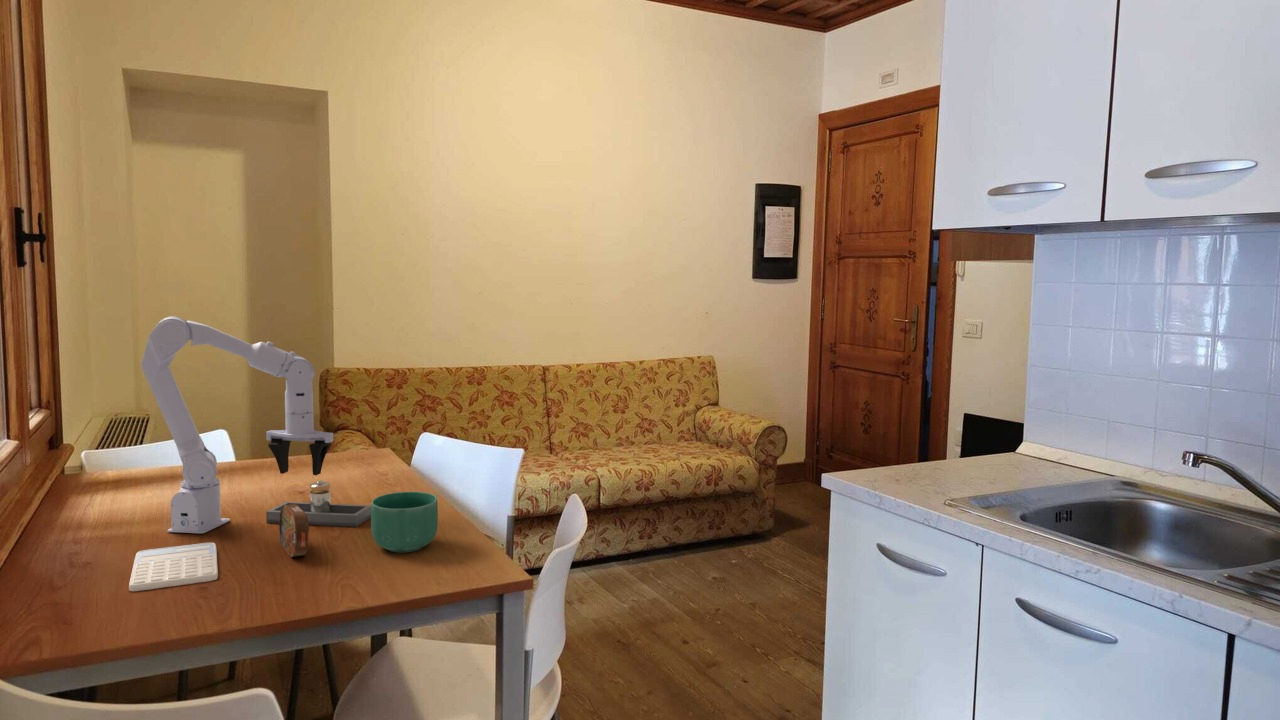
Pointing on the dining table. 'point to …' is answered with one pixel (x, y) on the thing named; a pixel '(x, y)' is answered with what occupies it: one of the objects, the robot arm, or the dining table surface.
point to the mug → (404, 520)
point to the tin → (293, 530)
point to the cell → (320, 497)
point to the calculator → (174, 566)
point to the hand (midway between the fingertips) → (300, 473)
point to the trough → (327, 514)
